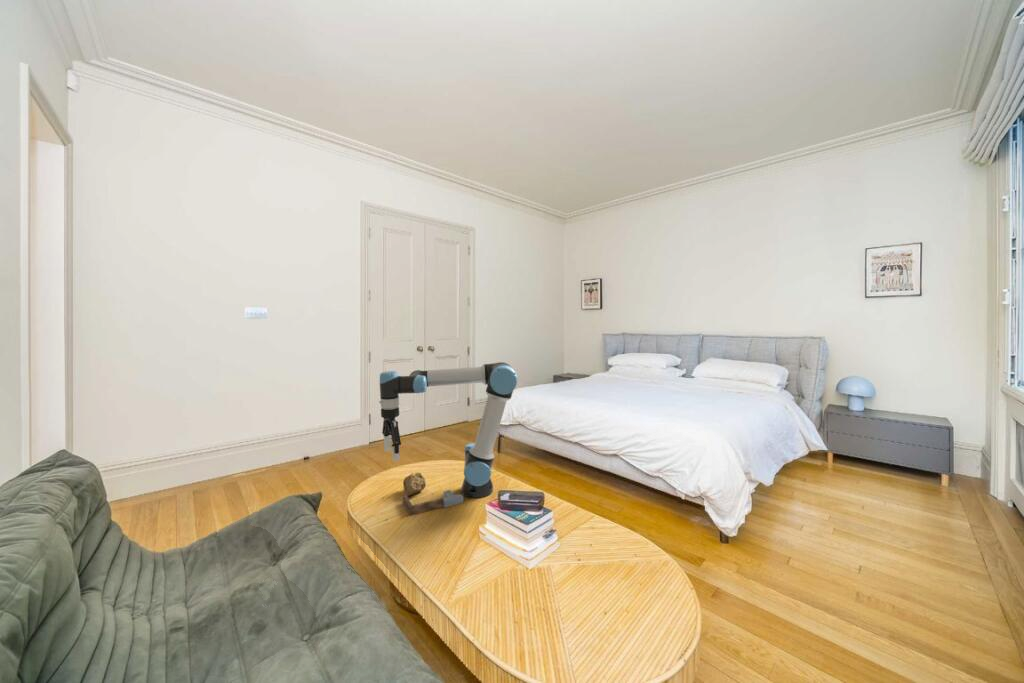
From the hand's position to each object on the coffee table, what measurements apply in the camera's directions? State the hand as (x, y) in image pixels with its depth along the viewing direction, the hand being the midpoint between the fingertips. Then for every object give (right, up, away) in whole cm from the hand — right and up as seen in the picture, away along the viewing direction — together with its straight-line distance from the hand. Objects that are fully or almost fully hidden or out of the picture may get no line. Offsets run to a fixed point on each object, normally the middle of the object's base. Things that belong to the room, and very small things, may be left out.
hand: (392, 455), depth 171 cm
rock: (+6, -23, +16) cm, 29 cm away
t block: (+24, -24, +9) cm, 35 cm away
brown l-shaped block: (+12, -24, +5) cm, 27 cm away
